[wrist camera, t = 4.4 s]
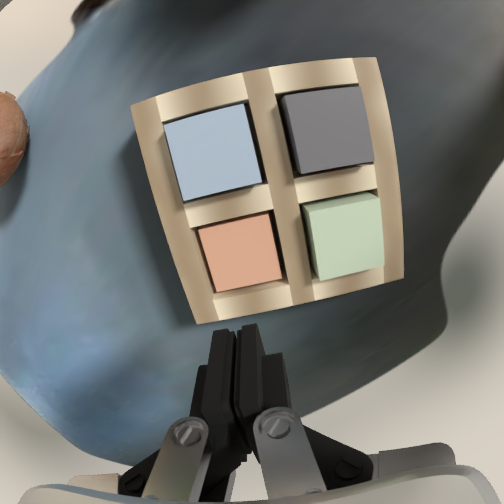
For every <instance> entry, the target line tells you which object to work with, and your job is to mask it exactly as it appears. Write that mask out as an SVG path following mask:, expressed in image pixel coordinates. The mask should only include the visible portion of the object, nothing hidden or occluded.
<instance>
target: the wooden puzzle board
mask: <svg viewBox="0 0 504 504" xmlns="http://www.w3.org/2000/svg"><path fill="white" fill-rule="evenodd" d="M358 86H361V90H362V94H363V99H364V103H365V108H366V113H367V118H368V123H369V128H370V134H371V139H372V145H373V151H374V158H375V161H372V162H366V163H360V164H354V165H348V166H342V167H336V168H331V169H325V170H320V171H314V172H309V173H304V174H301V173H299V172H298V171H296V170H295V169H294V166H293V161H292V156H291V152H290V147H289V142H288V138H287V133H286V129H285V124H284V120H283V116H282V111H281V107H280V103H279V101H280V100H281V99H282V98H283V97H284V96H285V95H291V94H298V93H305V92H312V91H319V90H327V89H336V88H346V87H358ZM240 104H244V107H245V112H246V116H247V120H248V124H249V128H250V132H251V137H252V141H253V145H254V150H255V154H256V158H257V163H258V167H259V171H260V176H261V180H262V182H261V183H256V184H252V185H247V186H243V187H238V188H234V189H230V190H226V191H222V192H217V193H213V194H209V195H205V196H201V197H197V198H194V199H190V200H186V201H184V200H183V197H182V193H181V189H180V186H179V182H178V178H177V175H176V171H175V167H174V164H173V160H172V156H171V152H170V148H169V144H168V140H167V136H166V132H165V128H164V125H166V124H169V123H172V122H175V121H179V120H182V119H185V118H189V117H192V116H196V115H199V114H203V113H207V112H211V111H215V110H218V109H223V108H227V107H231V106H235V105H240ZM130 107H131V111H132V116H133V120H134V124H135V128H136V132H137V136H138V140H139V144H140V148H141V152H142V156H143V160H144V163H145V167H146V171H147V174H148V178H149V182H150V185H151V189H152V192H153V196H154V199H155V202H156V206H157V209H158V212H159V216H160V219H161V222H162V225H163V228H164V232H165V235H166V238H167V241H168V244H169V247H170V250H171V253H172V256H173V259H174V262H175V265H176V268H177V271H178V274H179V277H180V279H181V282H182V285H183V288H184V291H185V293H186V296H187V299H188V302H189V304H190V307H191V310H192V312H193V315H194V318H195V320H196V323H197V324H202V323H208V322H214V321H219V320H225V319H230V318H235V317H241V316H246V315H251V314H256V313H261V312H266V311H270V310H275V309H280V308H285V307H289V306H294V305H298V304H303V303H307V302H311V301H316V300H320V299H324V298H328V297H333V296H337V295H341V294H345V293H349V292H353V291H357V290H361V289H365V288H368V287H372V286H376V285H380V284H383V283H387V282H391V281H394V280H398V279H402V278H404V247H403V224H402V208H401V196H400V186H399V176H398V168H397V160H396V153H395V146H394V139H393V133H392V128H391V122H390V117H389V111H388V106H387V101H386V97H385V92H384V88H383V83H382V79H381V75H380V71H379V67H378V63H377V60H376V57H367V58H345V59H332V60H321V61H311V62H303V63H295V64H288V65H281V66H275V67H269V68H264V69H258V70H253V71H248V72H243V73H238V74H234V75H229V76H225V77H221V78H217V79H213V80H209V81H205V82H201V83H198V84H194V85H191V86H187V87H184V88H180V89H177V90H174V91H171V92H168V93H165V94H162V95H159V96H156V97H153V98H150V99H147V100H144V101H141V102H139V103H136V104H133V105H131V106H130ZM364 190H365V191H367V192H369V193H371V194H373V195H375V196H377V197H379V198H380V205H381V216H382V228H383V242H384V261H385V265H384V266H380V267H376V268H372V269H368V270H364V271H360V272H356V273H352V274H348V275H343V276H339V277H335V278H331V279H327V280H322V281H319V279H318V277H317V274H316V272H315V270H314V268H313V266H312V264H311V259H310V253H309V246H308V241H307V235H306V229H305V223H304V218H303V212H302V207H301V203H303V202H308V201H313V200H318V199H323V198H328V197H333V196H338V195H343V194H348V193H354V192H359V191H364ZM266 210H267V211H268V214H269V218H270V223H271V228H272V232H273V237H274V242H275V246H276V251H277V256H278V261H279V265H280V270H281V275H282V279H277V280H272V281H268V282H263V283H258V284H254V285H249V286H244V287H239V288H234V289H230V290H225V291H220V292H217V291H216V287H215V284H214V281H213V278H212V275H211V271H210V268H209V265H208V262H207V258H206V255H205V252H204V248H203V245H202V242H201V238H200V235H199V231H198V230H199V228H200V226H201V225H205V224H209V223H213V222H218V221H222V220H226V219H230V218H235V217H239V216H243V215H248V214H252V213H257V212H261V211H266Z"/></svg>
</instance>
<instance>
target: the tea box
mask: <svg viewBox="0 0 504 504" xmlns="http://www.w3.org/2000/svg"><path fill="white" fill-rule="evenodd" d="M11 1H12V0H0V11H1V10H2V9H3V8H4V7H5V6H6V5H7V4H9V3H10V2H11Z"/></svg>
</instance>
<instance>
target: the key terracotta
mask: <svg viewBox="0 0 504 504" xmlns="http://www.w3.org/2000/svg"><path fill="white" fill-rule="evenodd" d="M198 231H199V235H200V238H201V242H202V245H203V248H204V252H205V255H206V258H207V262H208V265H209V268H210V271H211V275H212V278H213V281H214V284H215V287H216V291H217V292H220V291H225V290H230V289H234V288H239V287H244V286H249V285H254V284H258V283H263V282H268V281H272V280H277V279H282V275H281V270H280V265H279V261H278V256H277V251H276V246H275V242H274V237H273V232H272V228H271V223H270V218H269V214H268V211H267V210H266V211H261V212H257V213H252V214H248V215H243V216H239V217H235V218H230V219H226V220H222V221H218V222H213V223H209V224H205V225H201V226H200V228H199V230H198Z"/></svg>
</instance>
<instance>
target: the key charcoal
mask: <svg viewBox="0 0 504 504" xmlns="http://www.w3.org/2000/svg"><path fill="white" fill-rule="evenodd" d="M279 103H280V107H281V111H282V116H283V120H284V124H285V129H286V133H287V138H288V142H289V147H290V152H291V156H292V161H293V166H294V169H295V170H296V171H298V172H299V173H301V174H304V173H309V172H314V171H320V170H325V169H331V168H336V167H342V166H348V165H354V164H360V163H366V162H372V161H375V158H374V151H373V145H372V139H371V134H370V128H369V123H368V118H367V113H366V108H365V103H364V99H363V94H362V90H361V86H358V87H346V88H336V89H327V90H319V91H312V92H305V93H298V94H291V95H285V96H284V97H283V98H282V99H281V100H280V101H279Z"/></svg>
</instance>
